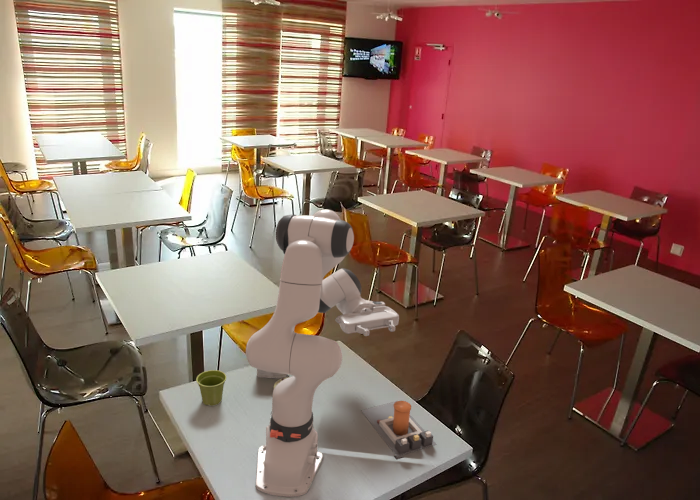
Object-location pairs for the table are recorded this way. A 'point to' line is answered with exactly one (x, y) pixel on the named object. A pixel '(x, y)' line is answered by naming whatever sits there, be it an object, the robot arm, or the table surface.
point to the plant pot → (211, 386)
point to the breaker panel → (398, 444)
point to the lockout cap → (401, 417)
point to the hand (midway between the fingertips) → (380, 331)
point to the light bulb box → (270, 374)
